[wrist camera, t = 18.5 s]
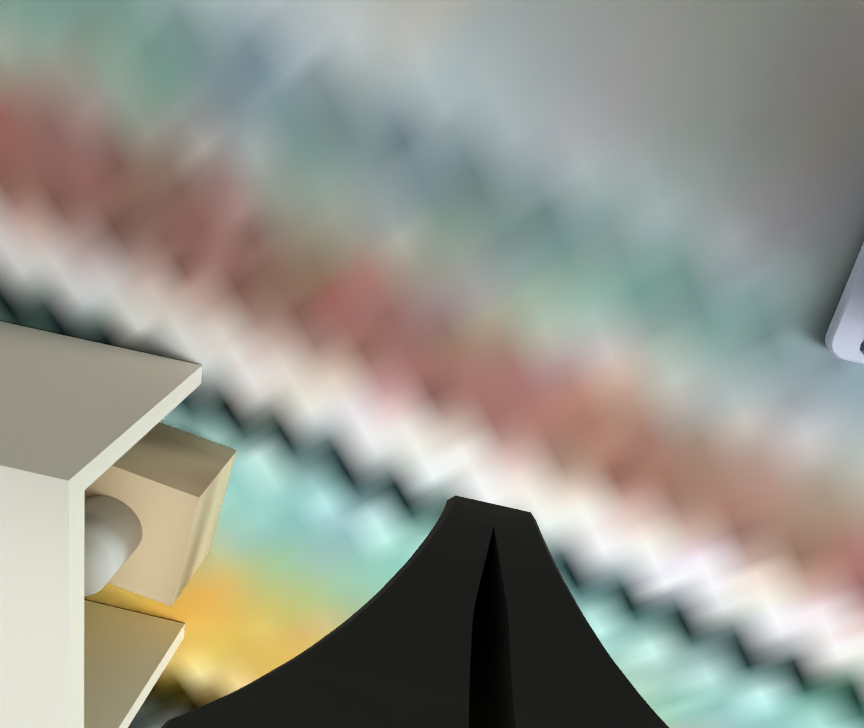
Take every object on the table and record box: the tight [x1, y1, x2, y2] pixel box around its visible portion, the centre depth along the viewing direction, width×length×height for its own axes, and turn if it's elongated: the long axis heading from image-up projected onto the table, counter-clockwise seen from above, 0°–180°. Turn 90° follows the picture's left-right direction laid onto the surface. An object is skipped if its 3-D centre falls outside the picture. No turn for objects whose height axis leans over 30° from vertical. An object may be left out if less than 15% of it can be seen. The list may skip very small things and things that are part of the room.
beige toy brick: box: [84, 422, 237, 606], centre depth 21 cm, size 9×4×5 cm, turn 71°
